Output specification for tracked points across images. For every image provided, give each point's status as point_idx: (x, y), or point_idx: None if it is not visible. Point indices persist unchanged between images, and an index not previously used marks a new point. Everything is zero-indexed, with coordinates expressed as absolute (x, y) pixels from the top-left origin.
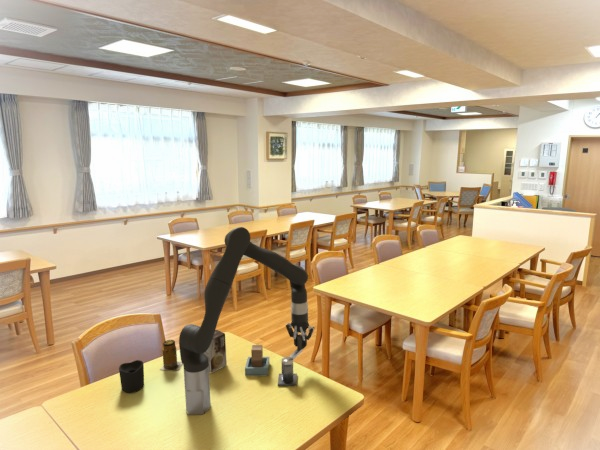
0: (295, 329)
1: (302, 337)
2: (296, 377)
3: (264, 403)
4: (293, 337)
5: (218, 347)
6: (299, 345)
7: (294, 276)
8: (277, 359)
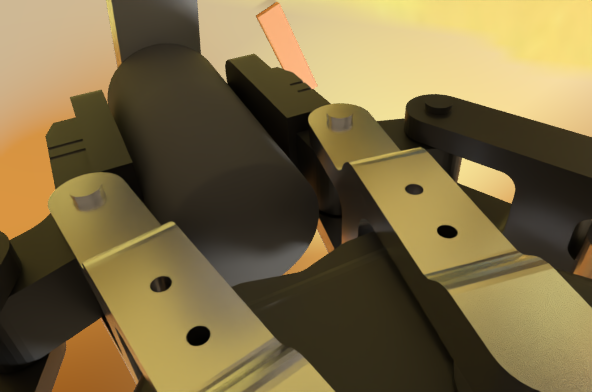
0: (472, 262)
1: (164, 218)
2: None
3: None
4: (366, 114)
5: None
6: (171, 77)
7: None
8: (380, 7)
